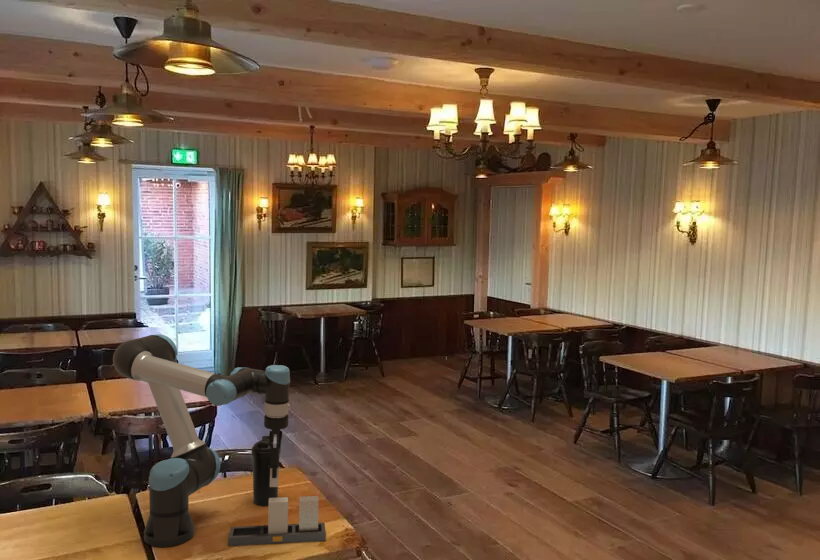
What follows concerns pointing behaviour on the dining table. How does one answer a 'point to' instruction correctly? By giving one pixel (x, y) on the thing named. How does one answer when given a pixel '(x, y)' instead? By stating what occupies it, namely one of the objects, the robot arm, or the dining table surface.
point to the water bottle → (262, 473)
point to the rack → (296, 532)
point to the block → (278, 515)
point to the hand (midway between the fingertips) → (274, 485)
